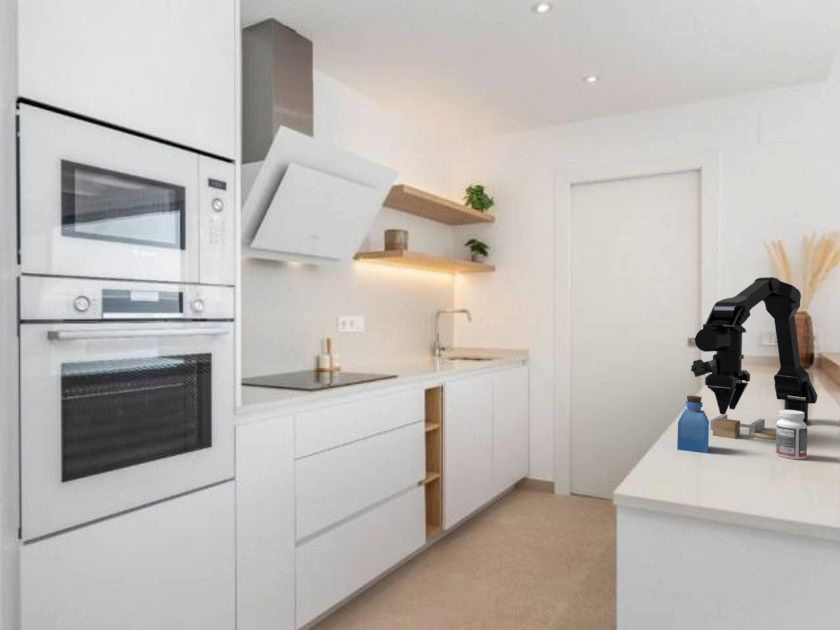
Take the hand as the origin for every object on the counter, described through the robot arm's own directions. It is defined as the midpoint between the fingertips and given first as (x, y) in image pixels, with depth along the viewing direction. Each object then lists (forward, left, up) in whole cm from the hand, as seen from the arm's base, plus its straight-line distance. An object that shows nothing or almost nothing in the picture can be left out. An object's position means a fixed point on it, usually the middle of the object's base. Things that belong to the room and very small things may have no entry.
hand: (727, 411), depth 148 cm
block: (0, 0, -6) cm, 6 cm away
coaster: (-7, +8, -6) cm, 12 cm away
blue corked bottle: (+21, -2, -6) cm, 22 cm away
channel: (-11, 0, -6) cm, 12 cm away
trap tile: (-16, 0, -6) cm, 17 cm away
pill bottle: (+13, +16, -6) cm, 22 cm away
